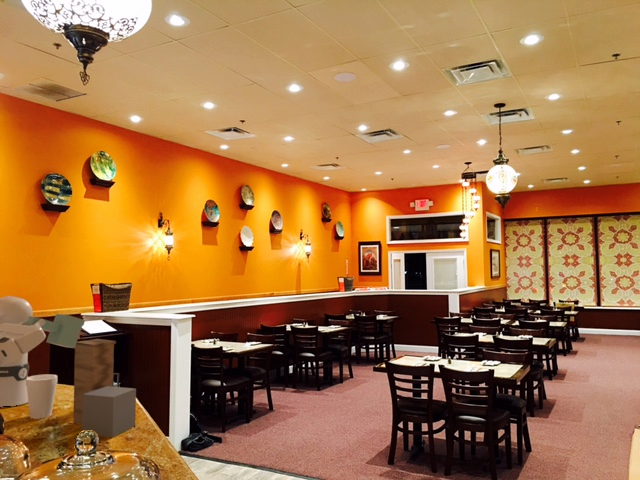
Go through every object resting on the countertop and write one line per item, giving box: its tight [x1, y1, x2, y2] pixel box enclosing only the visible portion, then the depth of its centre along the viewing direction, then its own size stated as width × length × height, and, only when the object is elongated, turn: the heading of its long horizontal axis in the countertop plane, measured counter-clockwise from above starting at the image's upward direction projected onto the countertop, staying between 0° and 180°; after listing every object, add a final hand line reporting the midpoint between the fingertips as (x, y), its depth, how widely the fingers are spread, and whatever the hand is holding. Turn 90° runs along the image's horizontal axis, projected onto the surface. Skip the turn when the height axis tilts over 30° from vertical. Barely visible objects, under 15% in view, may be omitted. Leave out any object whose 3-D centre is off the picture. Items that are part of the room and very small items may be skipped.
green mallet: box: [26, 313, 85, 349], centre depth 162 cm, size 17×6×9 cm, turn 149°
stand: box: [72, 338, 117, 426], centre depth 174 cm, size 9×10×26 cm
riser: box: [81, 386, 137, 439], centre depth 165 cm, size 11×11×12 cm
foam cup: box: [26, 373, 58, 420], centre depth 179 cm, size 10×9×13 cm
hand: (39, 320), depth 158 cm, fingers closed on green mallet, 3 cm apart
